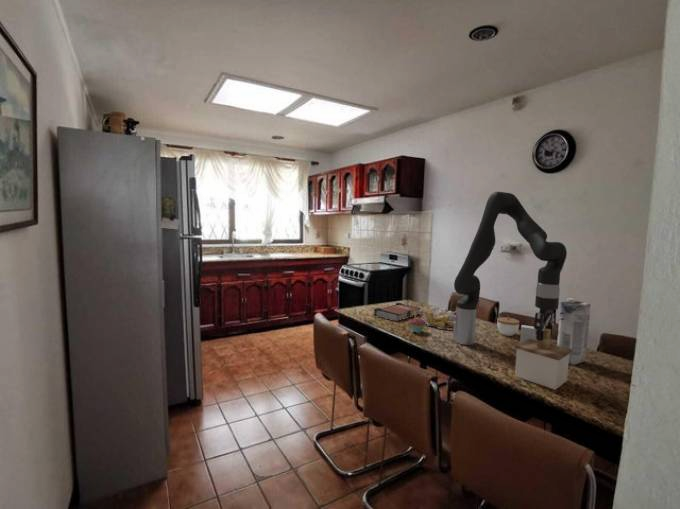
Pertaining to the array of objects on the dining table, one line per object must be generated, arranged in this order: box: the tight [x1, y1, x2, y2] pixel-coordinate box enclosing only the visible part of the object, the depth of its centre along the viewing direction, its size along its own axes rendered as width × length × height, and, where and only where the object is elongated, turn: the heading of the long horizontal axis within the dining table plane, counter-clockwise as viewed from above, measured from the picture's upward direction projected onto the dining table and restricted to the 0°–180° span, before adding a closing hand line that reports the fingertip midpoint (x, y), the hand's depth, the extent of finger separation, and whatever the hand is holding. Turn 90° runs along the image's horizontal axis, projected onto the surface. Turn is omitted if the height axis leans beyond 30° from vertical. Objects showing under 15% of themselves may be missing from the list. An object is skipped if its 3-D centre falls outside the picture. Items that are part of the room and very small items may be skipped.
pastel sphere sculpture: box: [423, 307, 456, 331], centre depth 203 cm, size 25×24×9 cm
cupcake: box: [408, 310, 427, 333], centre depth 187 cm, size 9×8×12 cm
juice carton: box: [556, 298, 591, 366], centre depth 151 cm, size 9×10×27 cm
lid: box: [514, 327, 572, 360], centre depth 133 cm, size 15×13×8 cm
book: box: [373, 302, 421, 322], centre depth 221 cm, size 26×18×5 cm
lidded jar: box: [496, 316, 520, 337], centre depth 188 cm, size 11×11×9 cm
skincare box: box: [519, 324, 537, 343], centre depth 161 cm, size 6×4×12 cm
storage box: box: [514, 349, 570, 391], centre depth 133 cm, size 14×12×11 cm
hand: (544, 337), depth 133 cm, fingers open, 8 cm apart
